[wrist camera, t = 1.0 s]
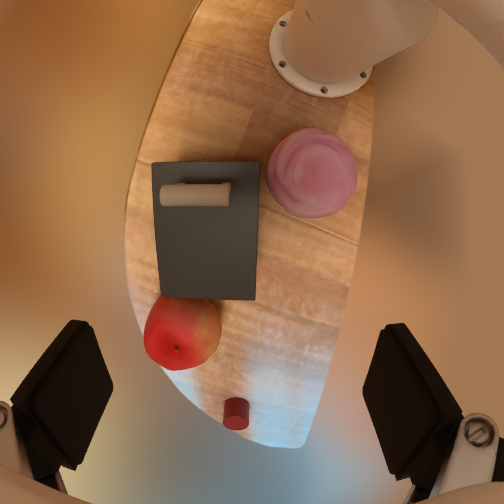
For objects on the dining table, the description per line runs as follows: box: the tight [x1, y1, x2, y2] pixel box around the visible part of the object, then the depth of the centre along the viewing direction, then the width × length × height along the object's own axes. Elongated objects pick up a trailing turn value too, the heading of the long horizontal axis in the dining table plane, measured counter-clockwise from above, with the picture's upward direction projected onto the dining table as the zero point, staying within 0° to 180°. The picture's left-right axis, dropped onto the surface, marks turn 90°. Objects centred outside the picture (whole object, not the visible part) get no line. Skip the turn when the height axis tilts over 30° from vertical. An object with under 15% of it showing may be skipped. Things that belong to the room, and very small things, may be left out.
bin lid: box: [152, 161, 260, 301], centre depth 25 cm, size 13×10×6 cm
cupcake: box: [266, 128, 357, 218], centre depth 29 cm, size 9×9×10 cm
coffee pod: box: [223, 398, 249, 430], centre depth 46 cm, size 4×4×4 cm
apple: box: [144, 296, 222, 371], centre depth 36 cm, size 10×10×10 cm
